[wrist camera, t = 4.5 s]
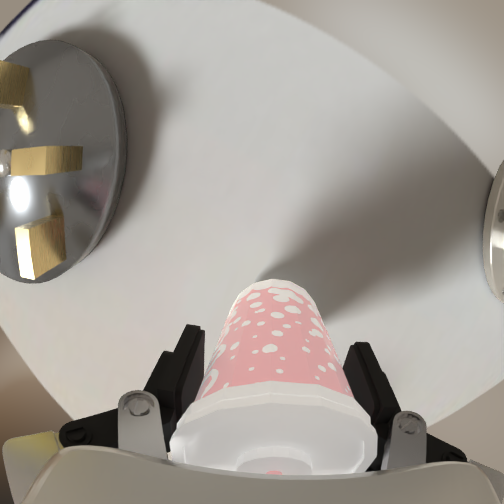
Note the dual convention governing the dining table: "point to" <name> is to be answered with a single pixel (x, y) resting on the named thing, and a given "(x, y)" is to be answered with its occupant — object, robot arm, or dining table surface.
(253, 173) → the dining table surface
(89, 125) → the gold studded metal disc
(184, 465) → the robot arm
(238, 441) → the beverage cup
